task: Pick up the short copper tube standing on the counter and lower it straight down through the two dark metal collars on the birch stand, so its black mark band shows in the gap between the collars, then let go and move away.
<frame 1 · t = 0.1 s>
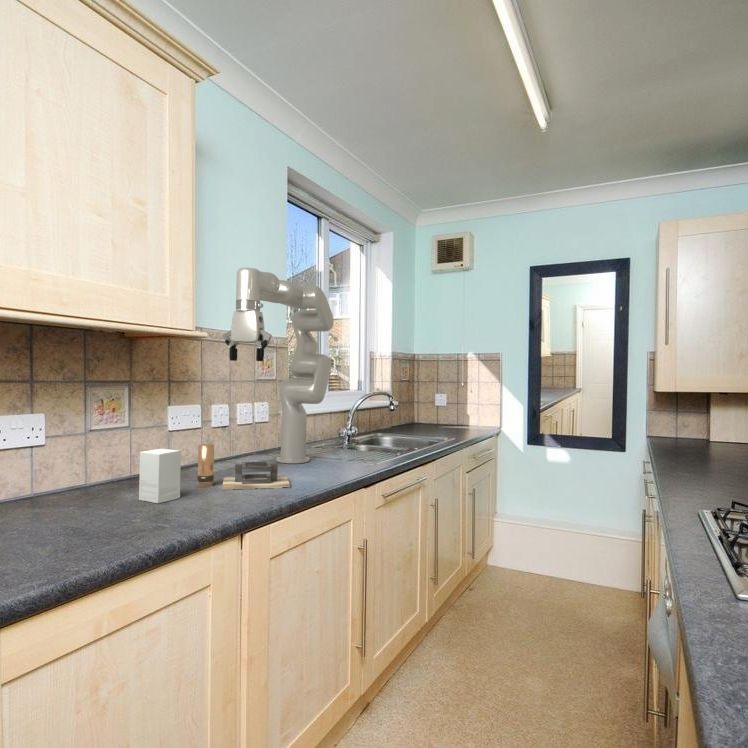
hand: (246, 360, 161), 37 cm above the worktop, tool pointing down, fingers open, 9 cm apart
supplement box: (159, 499, 131), on the worktop
tube: (205, 485, 148), on the worktop
collar stand: (256, 484, 151), on the worktop
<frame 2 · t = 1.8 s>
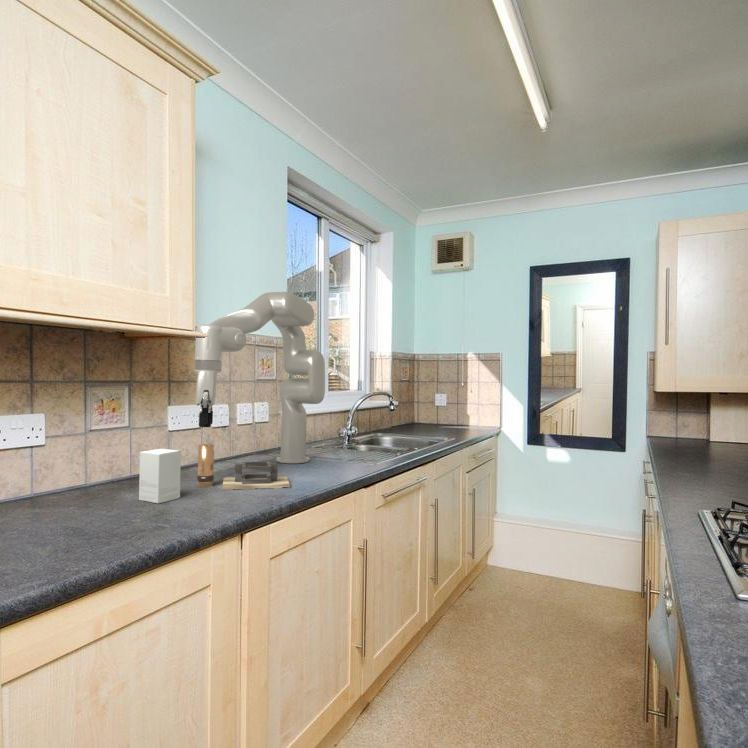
hand: (205, 425, 147), 18 cm above the worktop, tool pointing down, fingers open, 9 cm apart
nothing on the worktop moved.
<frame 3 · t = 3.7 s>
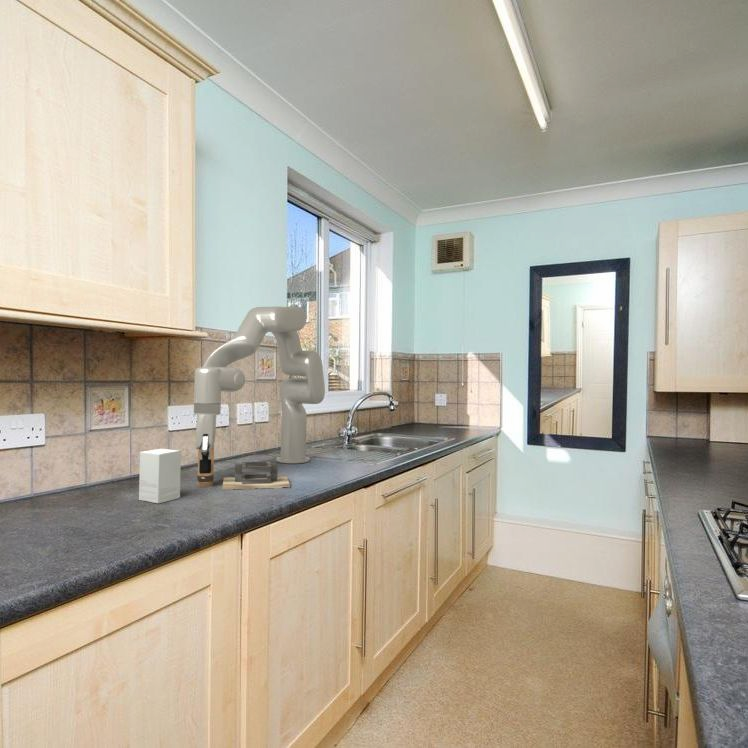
hand: (205, 470, 148), 4 cm above the worktop, tool pointing down, fingers closed on tube, 4 cm apart
tube: (205, 485, 148), on the worktop, touching gripper
everything else where it was.
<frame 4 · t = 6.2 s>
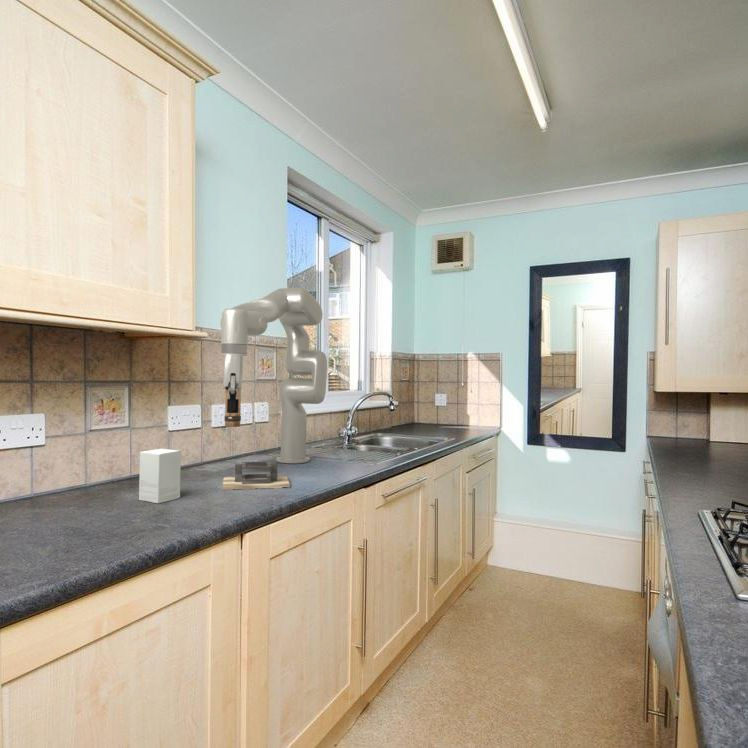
hand: (233, 411, 150), 22 cm above the worktop, tool pointing down, fingers closed on tube, 4 cm apart
tube: (232, 426, 150), point 17 cm above the worktop, touching gripper
everything else where it was.
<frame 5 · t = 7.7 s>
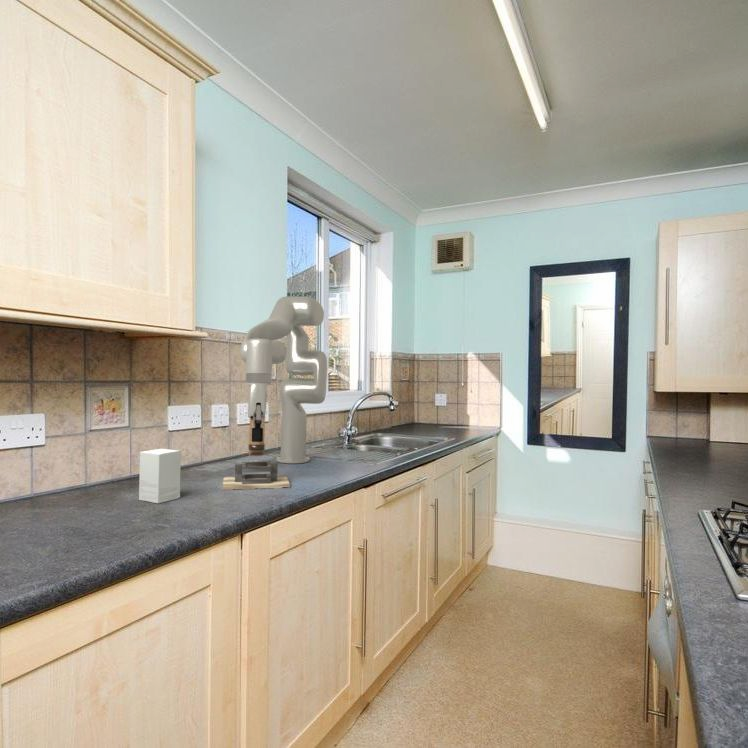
hand: (256, 439, 151), 13 cm above the worktop, tool pointing down, fingers closed on tube, 4 cm apart
tube: (256, 454, 151), point 9 cm above the worktop, touching gripper
everything else where it was.
when the fingers open (8 cm above the worktop, at t = 9.1 s): tube drops 2 cm, point 1 cm above the worktop.
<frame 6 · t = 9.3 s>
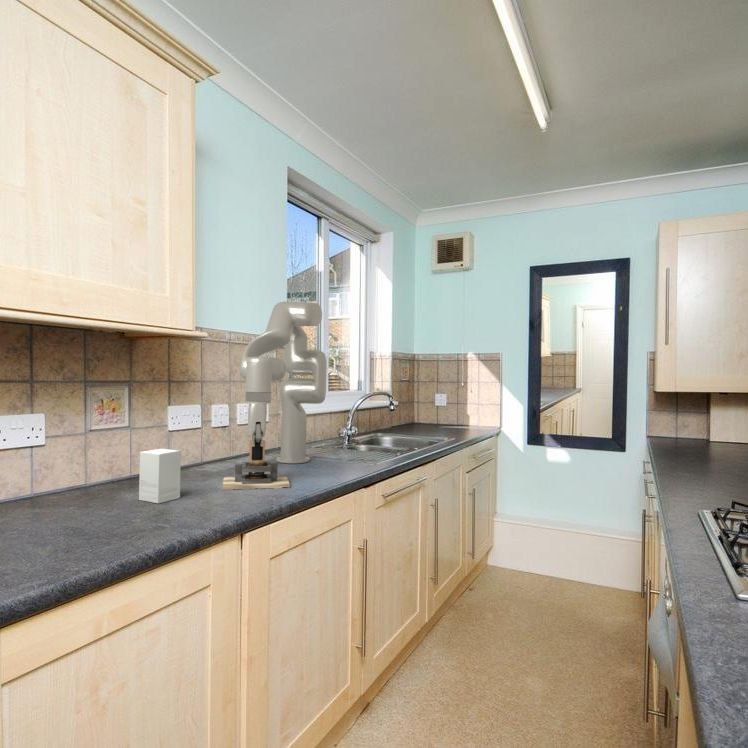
hand: (256, 457, 151), 8 cm above the worktop, tool pointing down, fingers open, 5 cm apart
tube: (256, 480, 151), point 1 cm above the worktop, touching gripper
everything else where it was.
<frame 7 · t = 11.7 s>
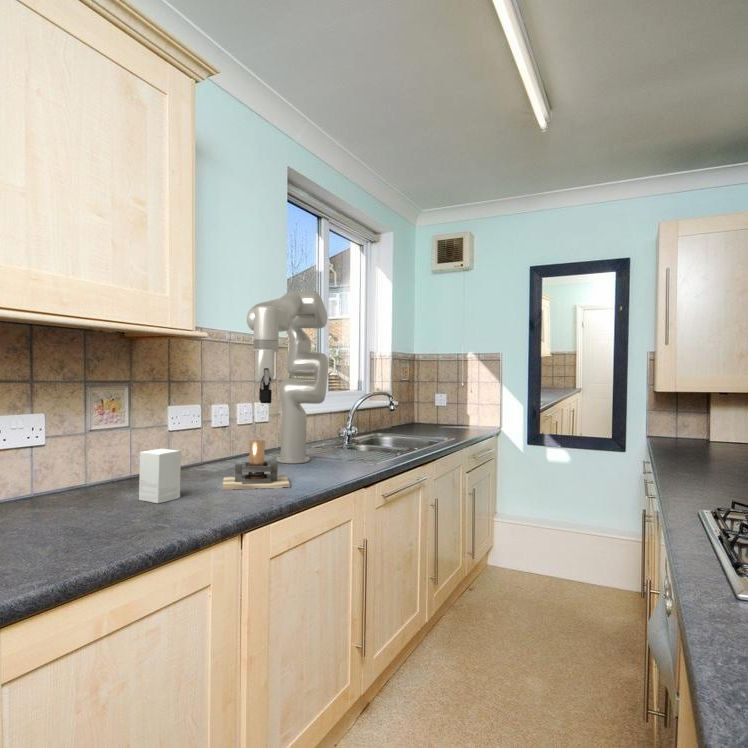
hand: (265, 401, 155), 25 cm above the worktop, tool pointing down, fingers open, 9 cm apart
tube: (256, 480, 151), point 1 cm above the worktop, touching collar stand
everything else where it was.
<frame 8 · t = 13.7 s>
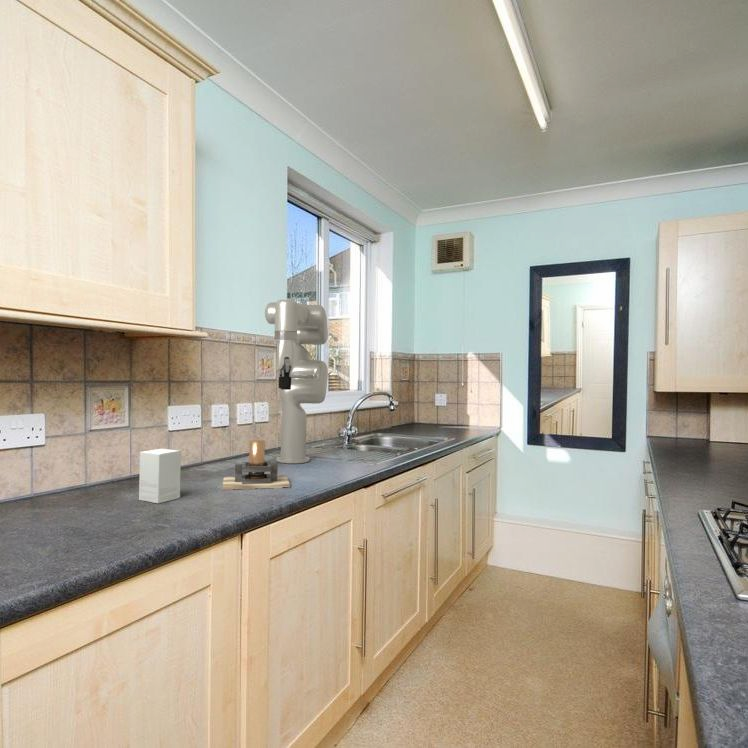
hand: (284, 388, 167), 28 cm above the worktop, tool pointing down, fingers open, 9 cm apart
nothing on the worktop moved.
at the end: tube 0.0 cm off-centre on the collar stand, point 1.0 cm above the collar stand's base; tube tilted 0°; the gripper is holding nothing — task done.
